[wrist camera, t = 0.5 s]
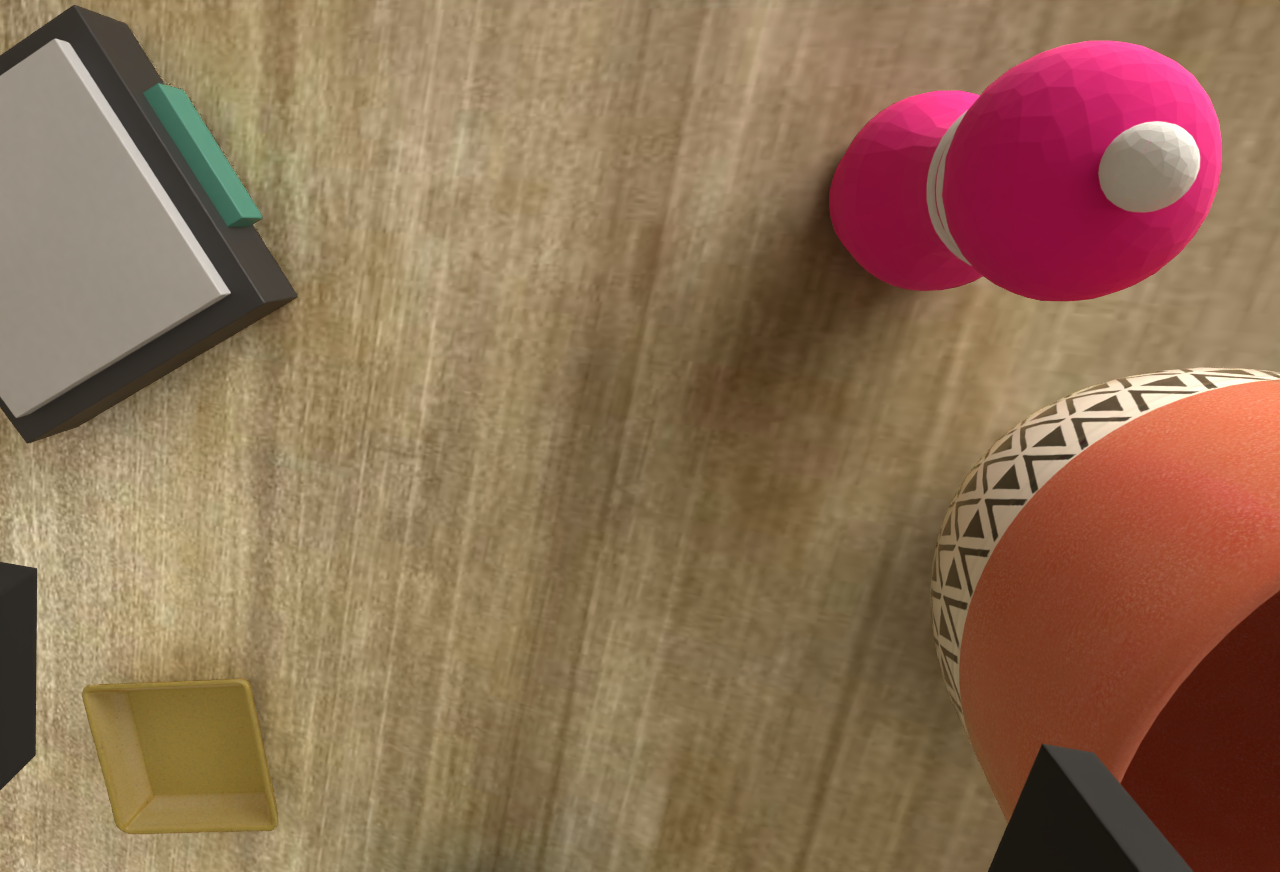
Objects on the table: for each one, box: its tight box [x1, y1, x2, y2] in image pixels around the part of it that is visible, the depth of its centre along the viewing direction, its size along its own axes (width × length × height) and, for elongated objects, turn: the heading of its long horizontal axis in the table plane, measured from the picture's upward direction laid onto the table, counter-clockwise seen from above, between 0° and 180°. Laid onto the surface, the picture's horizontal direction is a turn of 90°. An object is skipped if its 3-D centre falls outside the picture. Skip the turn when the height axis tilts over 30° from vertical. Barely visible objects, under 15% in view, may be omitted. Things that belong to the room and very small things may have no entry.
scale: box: [0, 5, 297, 443], centre depth 35 cm, size 14×13×4 cm
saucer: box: [82, 679, 278, 834], centre depth 43 cm, size 9×9×2 cm
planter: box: [931, 368, 1280, 872], centre depth 28 cm, size 20×20×21 cm
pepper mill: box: [829, 41, 1222, 301], centre depth 26 cm, size 7×7×20 cm
